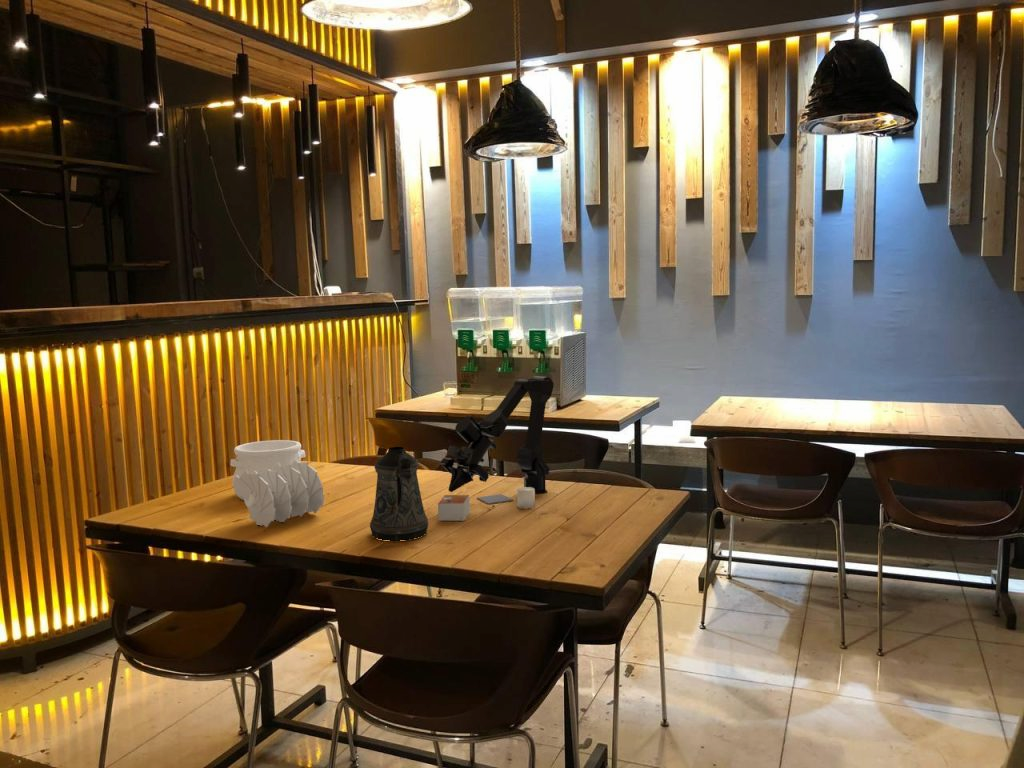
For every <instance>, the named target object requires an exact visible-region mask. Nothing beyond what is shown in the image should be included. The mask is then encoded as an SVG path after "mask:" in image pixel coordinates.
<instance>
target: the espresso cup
mask: <svg viewBox="0 0 1024 768" xmlns="http://www.w3.org/2000/svg"><path fill="white" fill-rule="evenodd" d="M535 496H536V493H535V489H534V488H532V487H524V486H523V487H518V488H517V489H516V499H517V500H516V501H517V502H516V503H517V506H516V507H517V508H518V507H519V508H518V509H522V508H524V509H525V508H529V509H534V508H535V507H536V498H535ZM533 507H534V508H533ZM524 509H523V510H524Z"/></svg>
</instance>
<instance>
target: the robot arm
mask: <svg viewBox="0 0 1024 768" xmlns="http://www.w3.org/2000/svg"><path fill="white" fill-rule="evenodd" d="M554 386H555V385H554V381H553V380H552V378H551V377H549V376H542V375H541V376H538V375H534V376H531V377H530V378H528V379H526V378H525V379H517V380H515V381H514V383H513V386H512V387H511V388H510V389H509V391H508V392H507V394H506V395H505V397H503V399H502V401H501V402H500V403H499V404H498V406H497V408H495V410H493V411H491V412H490V413H488V414H487V415H486V416H485V417H484V418H483V419H481V421H480V422H477V421H476V419H475V418H474V417H473V416H472V415H467V416H466V417H465V418H463V419H461V420H460V421H459V422H457V423H456V425H455V428H454V430H455V431H456V433H457V435H459V436H460V437H461V438H462V439H463V440H464V441H465V442H466V443H470V444H469V446H462V447H458V446H452V445H449V447H448V449H447V452H446V453H447V454H446V456H447V457H443V458H442V459H441V460H440V463H439V464H440V465H441V466H442V467H443V468H444V469H445V471H447V472H448V473H449V474H451V478H450V482H449V486H448V489H447V490H448V492H450V493H453V492H455V491H456V490H458V489H460V488H461V487H463V486H465V485H467V484H469V483H471V482H473V481H474V477H475V476H479V477H478V480H479V481H480V482H482V483H483V482H485V483H486V482H487V481H488V479H489V477H490V475H489V472H488V471H487V470H486V469H485V468H484V467H483V466H482V465H481V464H480V463H484V462H485V459H484V456H485V455H486V454H487V452H488V450H489V449H494V450H495V449H497V445H496V440H495V439H491V438H490V437H493V438H500V437H501V436H502V435H504V432H505V431H506V428H507V427H508V420H509V417H510V416H511V415H512V414H513V412H514V411H515V410H516V408H517V407H518V405H519V404H520V403H521V401H522V400H523V399H524V397H525V395H526V394H527V393H528V396H529V399H530V401H531V403H530V410H529V418H528V426H527V431H526V439H525V440H526V441H525V443H524V445H523V446H522V447H519V448H518V451H517V452H518V454H517V458H516V460H517V465H518V466H519V468H520V472H521V473H522V474H525V475H524V476H525V477H523V487H532V488H534V489H535V494H543V493H547V492H548V490H547V489H546V487H547V486H546V476H548V475H549V474H550V468H551V467H549V466H548V464H546V462H544V452H543V450H542V446H541V444H542V443H541V442H542V434H543V426H544V420H545V413H546V405H547V402H548V401H549V400H550V398H551V397H552V393H553V390H554ZM450 457H452V458H450ZM453 458H454V459H453Z"/></svg>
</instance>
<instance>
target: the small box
mask: <svg viewBox="0 0 1024 768" xmlns="http://www.w3.org/2000/svg"><path fill="white" fill-rule="evenodd" d="M437 506H438V507H437V509H438V511H437V513H438V516H437V517H438V522H442V521H443V522H445V521H447V522H450V521H451V522H452V521H453V522H454V521H455V522H464V521H465V520H466V519H467V518H468V515H469V514H470V513H471V512H470V511H471V510H470V494H464V495H463V494H445V495H443V496H442V498H441V499H440V500H439V502H438V505H437Z"/></svg>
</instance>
